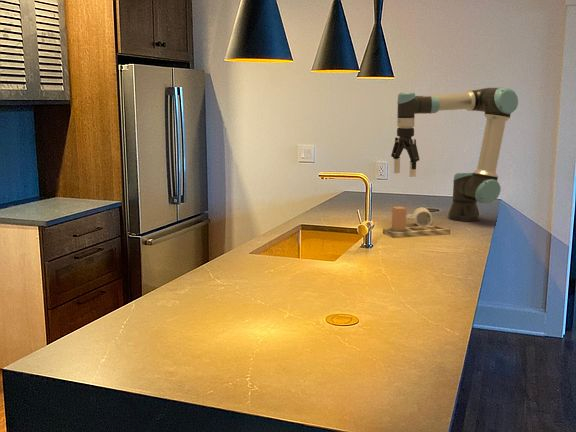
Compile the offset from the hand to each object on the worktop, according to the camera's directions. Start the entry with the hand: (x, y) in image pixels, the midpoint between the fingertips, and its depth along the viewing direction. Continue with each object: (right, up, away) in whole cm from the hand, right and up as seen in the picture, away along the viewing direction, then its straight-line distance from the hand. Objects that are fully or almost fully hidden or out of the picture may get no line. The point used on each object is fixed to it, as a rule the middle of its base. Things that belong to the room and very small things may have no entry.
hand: (404, 174), depth 296 cm
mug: (+9, -23, +12) cm, 28 cm away
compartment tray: (+4, -26, -6) cm, 27 cm away
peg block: (-4, -27, -9) cm, 29 cm away
